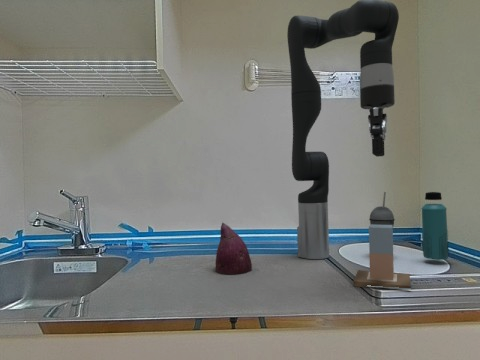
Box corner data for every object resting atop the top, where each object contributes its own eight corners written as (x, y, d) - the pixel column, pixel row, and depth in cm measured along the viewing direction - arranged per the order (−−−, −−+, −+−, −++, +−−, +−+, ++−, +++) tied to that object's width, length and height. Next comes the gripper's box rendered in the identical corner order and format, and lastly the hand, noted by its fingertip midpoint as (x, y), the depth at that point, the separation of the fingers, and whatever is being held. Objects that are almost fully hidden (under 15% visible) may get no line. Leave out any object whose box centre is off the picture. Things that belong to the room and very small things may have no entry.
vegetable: (212, 285, 98) (195, 233, 97) (226, 270, 108) (210, 223, 107) (247, 278, 94) (229, 224, 93) (258, 263, 104) (242, 214, 103)
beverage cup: (376, 253, 115) (374, 191, 115) (399, 256, 110) (397, 191, 109) (366, 257, 110) (364, 192, 110) (389, 260, 105) (387, 192, 104)
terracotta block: (370, 278, 83) (369, 252, 83) (371, 272, 88) (371, 248, 88) (393, 280, 81) (392, 254, 81) (393, 274, 86) (393, 249, 86)
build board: (353, 286, 83) (353, 280, 83) (358, 274, 92) (358, 269, 92) (410, 291, 78) (410, 285, 78) (409, 278, 87) (409, 273, 87)
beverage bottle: (452, 265, 97) (450, 192, 97) (426, 265, 99) (424, 192, 98) (444, 259, 104) (442, 191, 104) (419, 259, 105) (417, 191, 105)
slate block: (369, 253, 83) (368, 227, 83) (371, 248, 88) (370, 224, 88) (392, 254, 81) (392, 228, 81) (393, 249, 86) (392, 224, 86)
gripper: (393, 77, 76) (395, 153, 76) (394, 90, 89) (396, 155, 89) (356, 82, 79) (358, 155, 79) (362, 94, 92) (364, 157, 92)
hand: (378, 155), depth 84 cm, fingers open, 8 cm apart
